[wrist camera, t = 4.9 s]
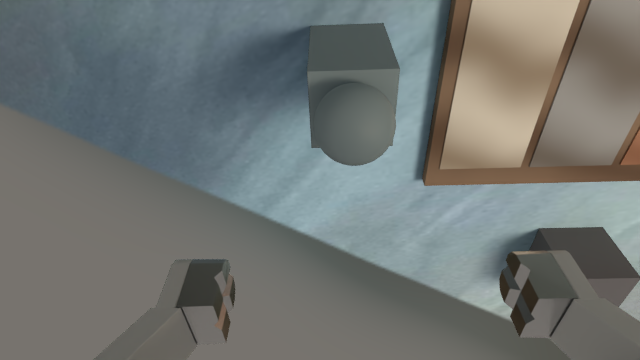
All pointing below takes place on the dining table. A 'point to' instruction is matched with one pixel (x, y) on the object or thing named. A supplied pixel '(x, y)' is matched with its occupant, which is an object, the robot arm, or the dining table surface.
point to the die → (592, 259)
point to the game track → (537, 93)
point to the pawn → (352, 91)
